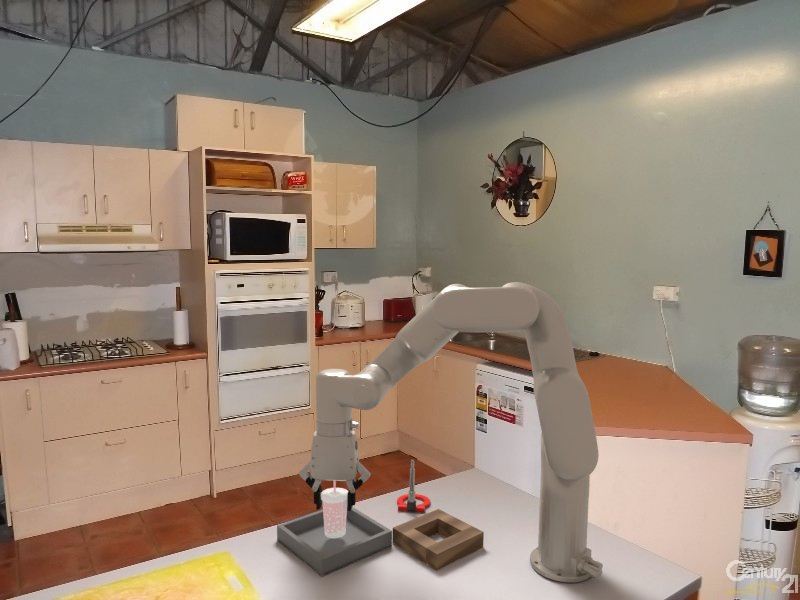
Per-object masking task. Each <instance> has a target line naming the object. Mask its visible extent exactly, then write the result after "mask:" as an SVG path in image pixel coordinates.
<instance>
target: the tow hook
mask: <svg viewBox="0 0 800 600" xmlns="http://www.w3.org/2000/svg"><path fill="white" fill-rule="evenodd" d="M415 474H416V469H415V460H414V459H411V460H410V468H409V490H408V492H407V494H403V495H400V496H399V497H397V500H396V503H397V504H396V505H397V511H399V512H400V511H401V512H407V513H422V512H426V509H427V508H429V507H430V506H431V499H430V498H429V497H427V496H426V495H422V494H418V493H416V491H415V477H416V475H415ZM417 500H419V501H422V502H423V503H420V504H417ZM404 501H406V502H404Z"/></svg>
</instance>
